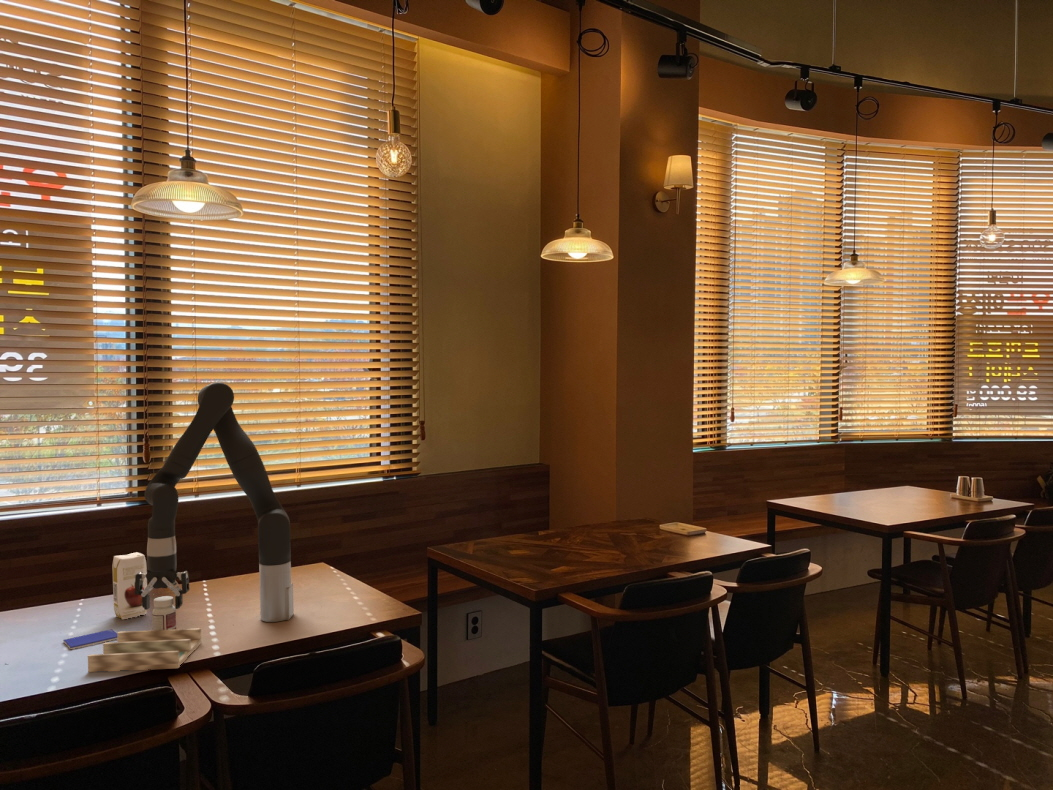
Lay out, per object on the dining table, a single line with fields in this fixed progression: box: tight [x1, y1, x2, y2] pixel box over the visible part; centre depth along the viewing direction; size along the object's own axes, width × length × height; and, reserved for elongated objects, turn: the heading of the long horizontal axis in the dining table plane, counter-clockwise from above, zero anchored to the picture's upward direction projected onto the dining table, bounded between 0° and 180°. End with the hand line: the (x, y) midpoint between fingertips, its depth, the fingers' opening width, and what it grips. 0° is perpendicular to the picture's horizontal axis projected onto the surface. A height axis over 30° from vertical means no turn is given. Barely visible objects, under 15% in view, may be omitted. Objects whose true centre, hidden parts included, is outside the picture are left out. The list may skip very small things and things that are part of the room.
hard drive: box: [62, 628, 118, 650], centre depth 219 cm, size 2×8×12 cm
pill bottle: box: [151, 595, 177, 630], centre depth 220 cm, size 6×6×11 cm
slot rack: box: [87, 627, 202, 673], centre depth 206 cm, size 22×18×4 cm
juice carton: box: [112, 551, 148, 620], centre depth 240 cm, size 8×9×19 cm
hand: (162, 608), depth 220 cm, fingers open, 8 cm apart
